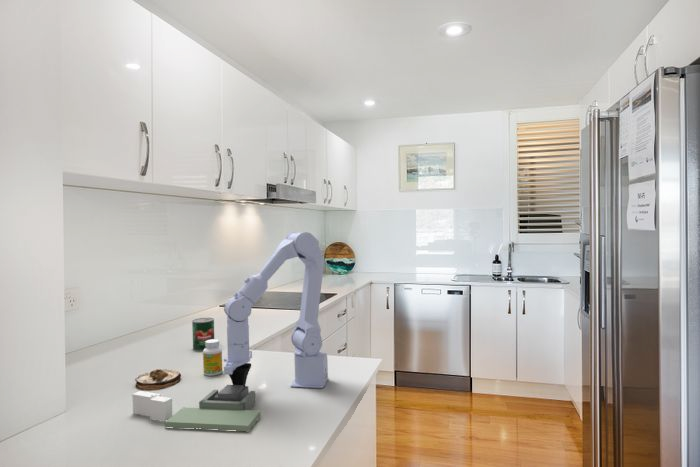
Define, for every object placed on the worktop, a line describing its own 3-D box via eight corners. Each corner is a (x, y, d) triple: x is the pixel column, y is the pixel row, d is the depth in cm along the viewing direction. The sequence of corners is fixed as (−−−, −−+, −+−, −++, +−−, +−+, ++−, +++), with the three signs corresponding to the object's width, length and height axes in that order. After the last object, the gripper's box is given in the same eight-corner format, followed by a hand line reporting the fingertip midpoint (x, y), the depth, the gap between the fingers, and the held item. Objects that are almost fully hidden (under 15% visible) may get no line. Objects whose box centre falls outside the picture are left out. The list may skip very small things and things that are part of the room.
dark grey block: (248, 399, 118) (248, 383, 118) (236, 411, 110) (236, 394, 110) (227, 398, 119) (227, 382, 119) (214, 410, 111) (213, 394, 111)
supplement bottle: (203, 377, 136) (202, 344, 136) (204, 371, 142) (203, 339, 141) (222, 374, 138) (221, 342, 137) (222, 369, 143) (221, 337, 143)
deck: (271, 403, 115) (271, 391, 115) (248, 432, 99) (247, 419, 99) (199, 400, 118) (198, 389, 118) (165, 428, 102) (164, 415, 102)
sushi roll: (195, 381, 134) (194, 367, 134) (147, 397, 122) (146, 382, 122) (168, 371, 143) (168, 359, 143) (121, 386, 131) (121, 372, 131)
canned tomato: (201, 352, 162) (200, 323, 162) (188, 349, 167) (187, 320, 167) (219, 347, 168) (218, 319, 168) (206, 344, 173) (205, 316, 173)
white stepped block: (124, 413, 112) (123, 390, 112) (171, 403, 118) (171, 381, 118) (128, 437, 99) (127, 412, 99) (181, 424, 105) (180, 400, 105)
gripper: (235, 335, 127) (236, 381, 128) (212, 349, 113) (213, 402, 113) (258, 335, 126) (259, 382, 127) (238, 350, 112) (239, 403, 112)
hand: (239, 392), depth 120 cm, fingers closed
